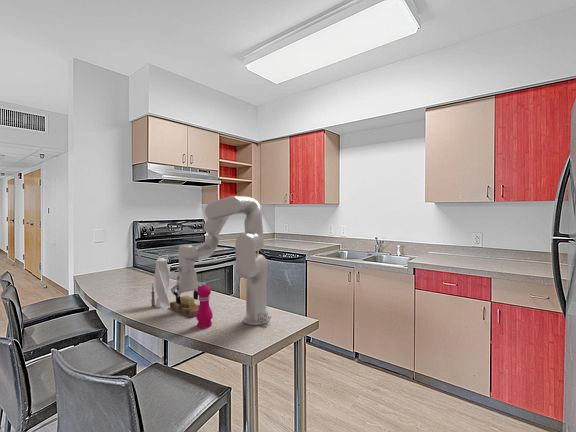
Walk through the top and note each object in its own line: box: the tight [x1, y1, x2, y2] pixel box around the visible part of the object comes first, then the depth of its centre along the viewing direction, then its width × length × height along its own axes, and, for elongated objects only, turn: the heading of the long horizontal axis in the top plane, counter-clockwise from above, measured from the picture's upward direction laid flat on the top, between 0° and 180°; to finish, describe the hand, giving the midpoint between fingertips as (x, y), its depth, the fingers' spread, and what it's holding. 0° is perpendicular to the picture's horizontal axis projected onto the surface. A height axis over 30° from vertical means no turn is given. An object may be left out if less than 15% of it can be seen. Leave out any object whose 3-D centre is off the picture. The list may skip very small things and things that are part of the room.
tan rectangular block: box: [180, 295, 195, 308], centre depth 160 cm, size 8×3×7 cm, turn 49°
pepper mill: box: [195, 282, 213, 329], centre depth 140 cm, size 7×7×20 cm
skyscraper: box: [150, 254, 171, 310], centre depth 168 cm, size 8×8×28 cm
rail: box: [169, 300, 200, 319], centre depth 160 cm, size 22×8×3 cm, turn 48°
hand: (187, 301), depth 160 cm, fingers open, 9 cm apart
